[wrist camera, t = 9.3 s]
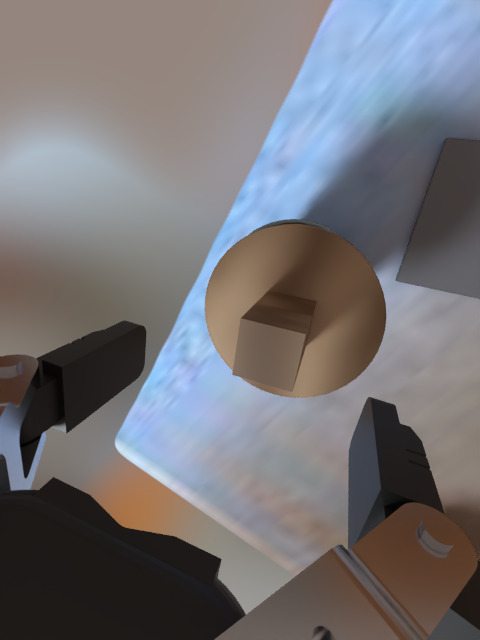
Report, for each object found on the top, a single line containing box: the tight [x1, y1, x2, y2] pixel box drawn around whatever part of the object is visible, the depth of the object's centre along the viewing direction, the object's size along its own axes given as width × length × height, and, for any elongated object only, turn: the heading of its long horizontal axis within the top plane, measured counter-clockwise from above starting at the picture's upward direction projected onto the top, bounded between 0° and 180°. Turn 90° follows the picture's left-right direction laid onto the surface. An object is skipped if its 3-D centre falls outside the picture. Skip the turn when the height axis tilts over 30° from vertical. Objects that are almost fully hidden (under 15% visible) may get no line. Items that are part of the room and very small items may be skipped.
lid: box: [205, 224, 386, 398], centre depth 19 cm, size 12×12×7 cm
